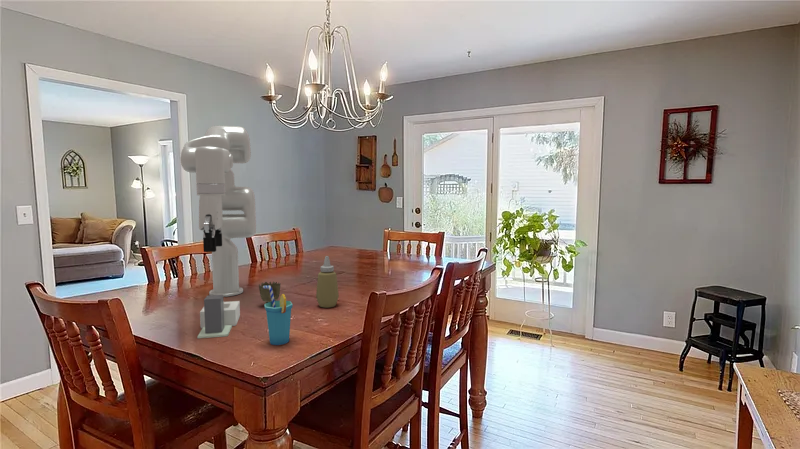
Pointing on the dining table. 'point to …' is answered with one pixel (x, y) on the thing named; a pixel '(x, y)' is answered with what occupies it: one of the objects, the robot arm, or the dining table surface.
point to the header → (226, 314)
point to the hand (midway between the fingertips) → (213, 248)
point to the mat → (208, 335)
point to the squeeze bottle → (327, 285)
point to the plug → (214, 313)
